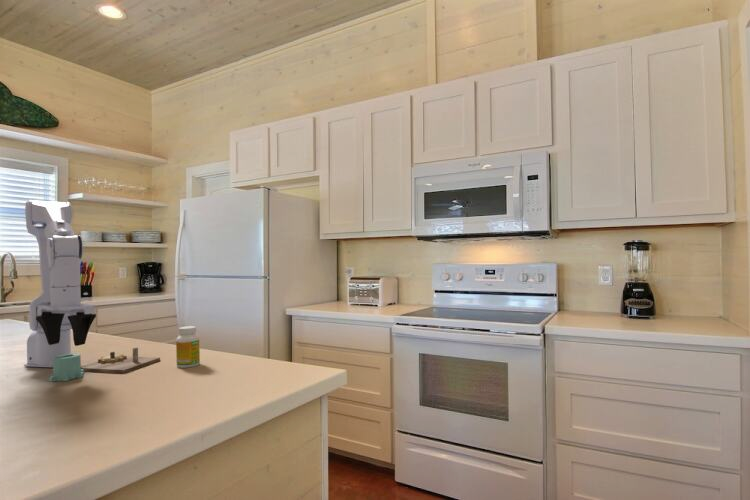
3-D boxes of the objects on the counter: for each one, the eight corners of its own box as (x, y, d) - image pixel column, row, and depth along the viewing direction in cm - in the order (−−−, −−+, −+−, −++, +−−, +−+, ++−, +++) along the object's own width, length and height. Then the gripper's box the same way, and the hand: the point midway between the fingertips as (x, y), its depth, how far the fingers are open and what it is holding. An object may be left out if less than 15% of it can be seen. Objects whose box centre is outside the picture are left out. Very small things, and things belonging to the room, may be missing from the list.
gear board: (76, 370, 105) (76, 353, 105) (116, 358, 116) (116, 343, 116) (123, 373, 101) (123, 355, 101) (160, 360, 113) (159, 344, 113)
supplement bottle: (194, 368, 105) (193, 329, 105) (172, 368, 105) (171, 329, 105) (203, 362, 110) (202, 325, 110) (182, 362, 110) (182, 325, 110)
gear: (41, 381, 97) (41, 359, 97) (69, 372, 103) (68, 352, 103) (65, 382, 95) (64, 360, 95) (92, 373, 102) (91, 353, 102)
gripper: (23, 288, 97) (25, 347, 97) (74, 287, 94) (76, 349, 93) (53, 285, 104) (54, 340, 104) (102, 285, 100) (103, 342, 100)
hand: (66, 344), depth 99 cm, fingers open, 7 cm apart
